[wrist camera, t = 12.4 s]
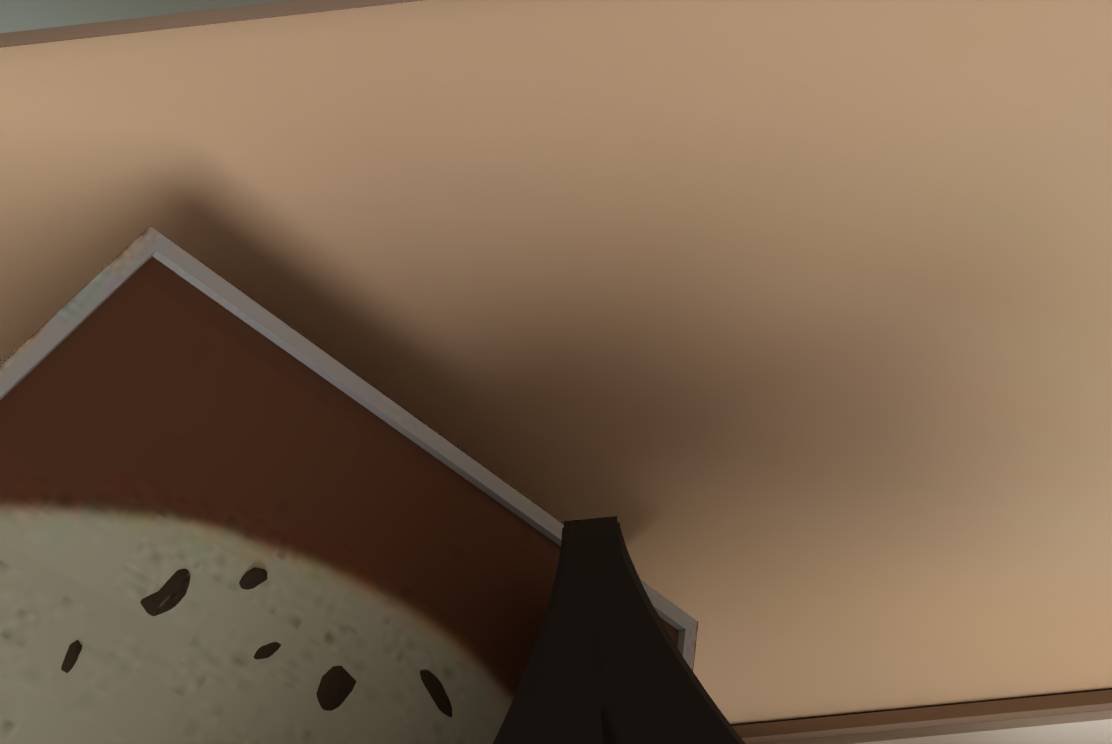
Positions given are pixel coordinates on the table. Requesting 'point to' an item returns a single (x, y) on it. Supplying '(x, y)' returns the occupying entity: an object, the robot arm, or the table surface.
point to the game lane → (848, 740)
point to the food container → (247, 536)
